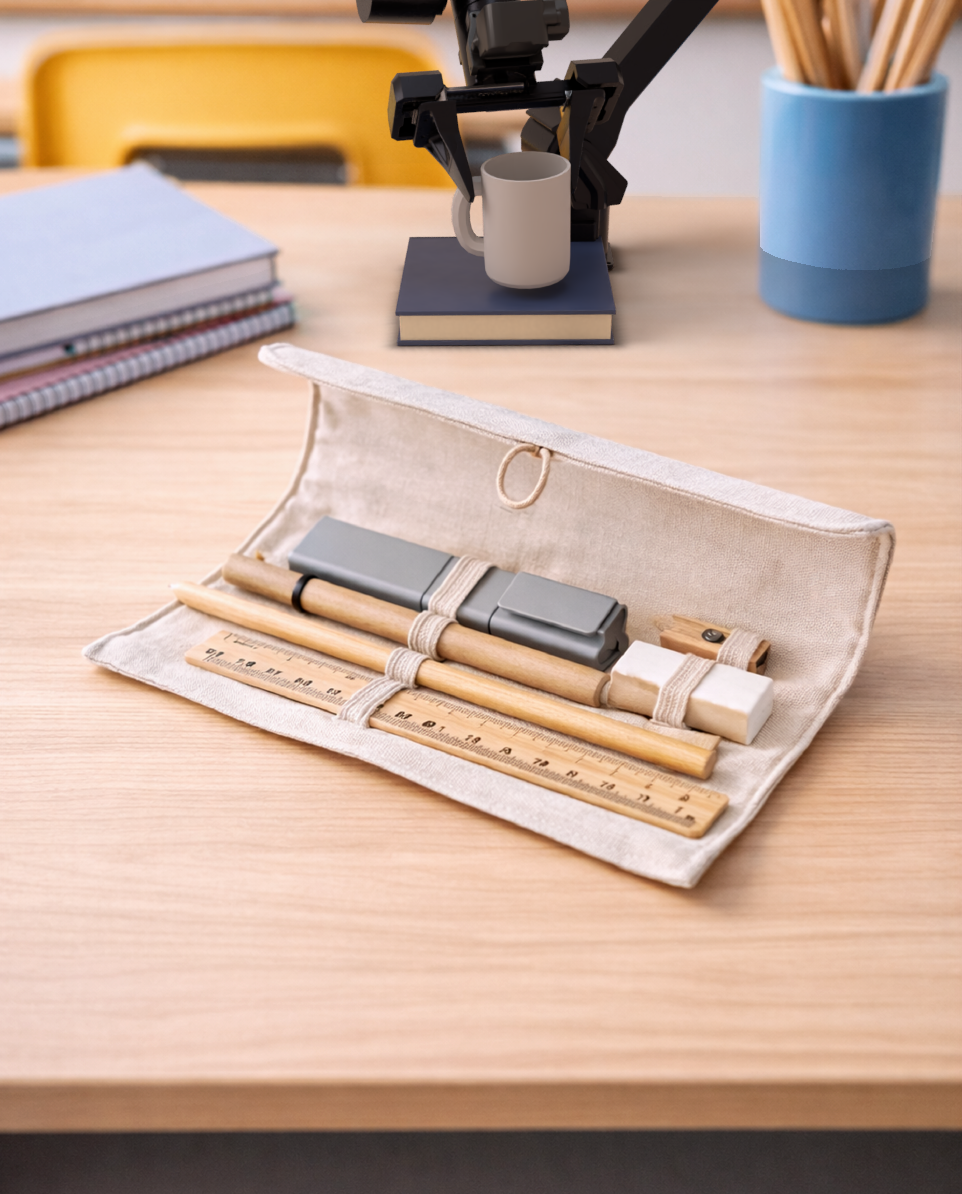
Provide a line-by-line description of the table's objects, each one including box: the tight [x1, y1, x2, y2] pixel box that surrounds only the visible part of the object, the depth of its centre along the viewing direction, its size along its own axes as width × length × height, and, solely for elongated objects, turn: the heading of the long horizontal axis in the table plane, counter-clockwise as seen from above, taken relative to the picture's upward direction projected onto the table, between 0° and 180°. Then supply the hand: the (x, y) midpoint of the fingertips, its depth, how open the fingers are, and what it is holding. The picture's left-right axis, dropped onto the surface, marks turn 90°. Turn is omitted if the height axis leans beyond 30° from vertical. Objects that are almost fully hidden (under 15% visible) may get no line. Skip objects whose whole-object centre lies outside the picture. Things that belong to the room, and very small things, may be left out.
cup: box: [450, 151, 571, 289], centre depth 98 cm, size 7×10×9 cm
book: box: [394, 235, 617, 347], centre depth 105 cm, size 18×18×3 cm
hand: (522, 195), depth 96 cm, fingers closed on cup, 8 cm apart
